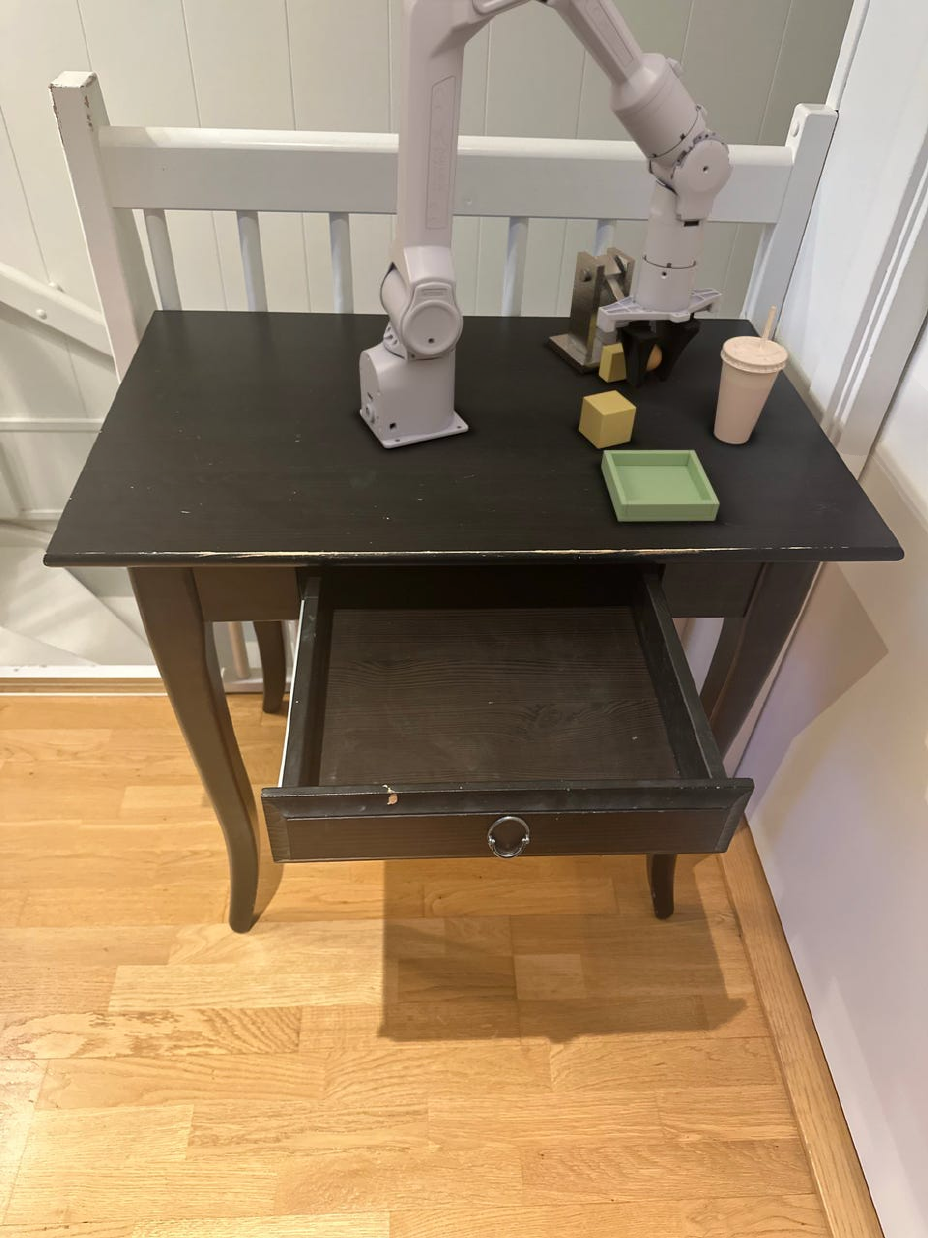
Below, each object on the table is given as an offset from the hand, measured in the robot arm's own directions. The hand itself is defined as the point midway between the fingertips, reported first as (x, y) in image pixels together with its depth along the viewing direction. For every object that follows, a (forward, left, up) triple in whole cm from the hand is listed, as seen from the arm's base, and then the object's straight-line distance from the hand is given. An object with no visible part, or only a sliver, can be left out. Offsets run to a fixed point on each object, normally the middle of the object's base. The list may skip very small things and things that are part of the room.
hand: (646, 381), depth 95 cm
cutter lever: (0, +6, +4) cm, 8 cm away
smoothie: (+4, -11, -2) cm, 12 cm away
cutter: (0, +11, -2) cm, 11 cm away
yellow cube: (-9, -6, -2) cm, 11 cm away
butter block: (0, +5, -2) cm, 5 cm away
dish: (-10, -17, -2) cm, 20 cm away
